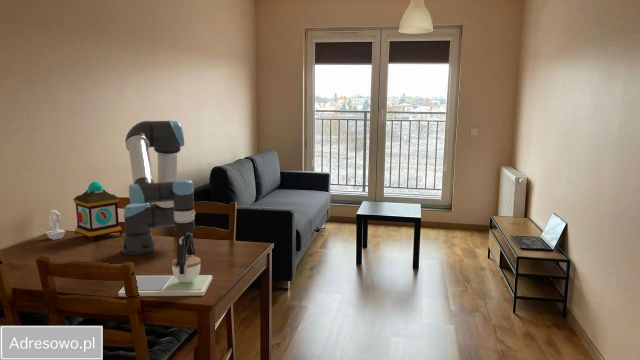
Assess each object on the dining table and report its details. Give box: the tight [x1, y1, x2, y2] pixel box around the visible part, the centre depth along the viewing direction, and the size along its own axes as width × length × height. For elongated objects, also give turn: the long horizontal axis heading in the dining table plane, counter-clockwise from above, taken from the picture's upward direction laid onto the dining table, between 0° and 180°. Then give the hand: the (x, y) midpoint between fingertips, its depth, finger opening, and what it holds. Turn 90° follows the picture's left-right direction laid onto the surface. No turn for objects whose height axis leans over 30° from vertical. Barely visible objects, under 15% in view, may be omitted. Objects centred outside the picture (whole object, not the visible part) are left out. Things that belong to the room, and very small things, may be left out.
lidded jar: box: [171, 255, 202, 283], centre depth 180 cm, size 11×11×9 cm
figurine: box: [44, 209, 66, 241], centre depth 246 cm, size 7×9×15 cm
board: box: [118, 274, 213, 297], centre depth 181 cm, size 31×17×2 cm, turn 92°
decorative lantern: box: [72, 180, 123, 243], centre depth 248 cm, size 20×20×30 cm
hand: (186, 276), depth 181 cm, fingers closed on lidded jar, 11 cm apart
